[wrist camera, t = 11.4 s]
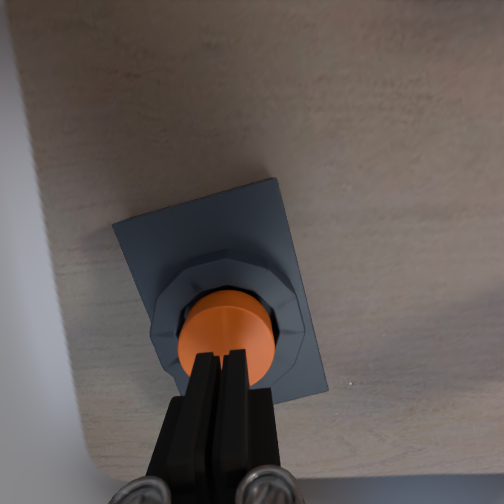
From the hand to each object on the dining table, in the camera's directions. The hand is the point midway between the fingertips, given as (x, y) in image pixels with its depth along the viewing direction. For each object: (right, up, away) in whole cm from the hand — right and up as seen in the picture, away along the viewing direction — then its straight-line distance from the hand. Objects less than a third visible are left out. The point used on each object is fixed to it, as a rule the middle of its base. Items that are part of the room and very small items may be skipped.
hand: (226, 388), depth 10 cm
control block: (0, +2, +7) cm, 7 cm away
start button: (0, +1, +4) cm, 4 cm away
